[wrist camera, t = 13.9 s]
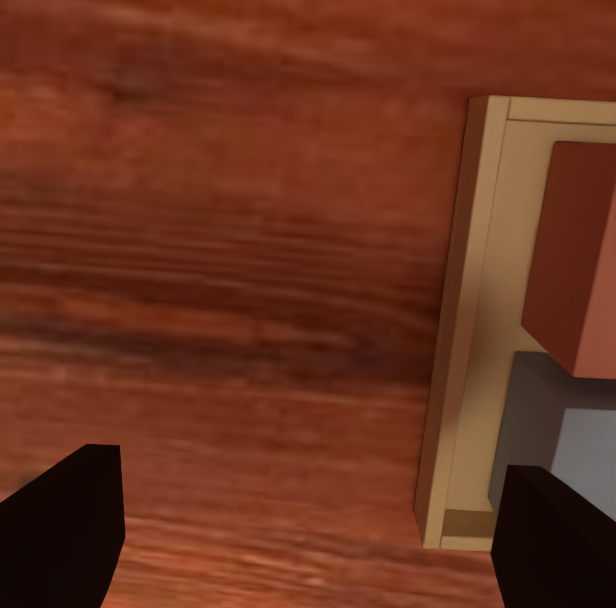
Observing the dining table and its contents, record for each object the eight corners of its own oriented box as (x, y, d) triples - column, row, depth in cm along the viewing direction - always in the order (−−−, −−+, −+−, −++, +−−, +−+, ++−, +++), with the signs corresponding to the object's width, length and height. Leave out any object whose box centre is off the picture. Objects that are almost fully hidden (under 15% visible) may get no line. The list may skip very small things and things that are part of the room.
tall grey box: (486, 497, 21) (525, 581, 17) (514, 350, 19) (565, 408, 15) (592, 502, 21) (654, 587, 17) (630, 356, 19) (710, 415, 15)
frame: (412, 511, 22) (423, 549, 20) (468, 97, 17) (488, 94, 15) (646, 522, 22) (678, 561, 20) (768, 114, 17) (825, 113, 15)
